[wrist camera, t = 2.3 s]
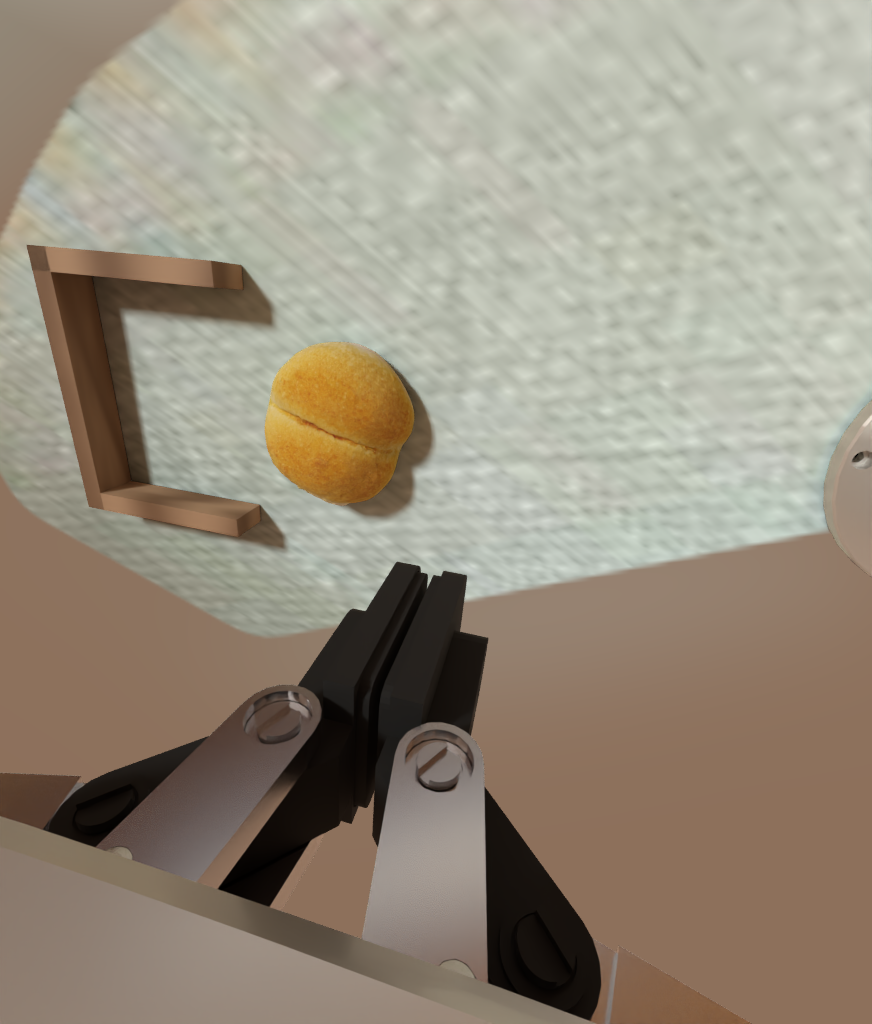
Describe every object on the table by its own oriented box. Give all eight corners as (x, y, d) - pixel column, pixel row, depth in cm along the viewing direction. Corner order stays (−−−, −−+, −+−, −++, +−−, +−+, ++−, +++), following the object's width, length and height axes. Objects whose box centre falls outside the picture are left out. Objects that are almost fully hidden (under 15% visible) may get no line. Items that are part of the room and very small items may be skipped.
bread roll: (436, 377, 26) (417, 388, 22) (381, 510, 30) (357, 537, 26) (302, 311, 26) (262, 311, 22) (265, 451, 30) (226, 470, 26)
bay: (241, 265, 25) (211, 260, 23) (260, 521, 32) (238, 536, 30) (69, 250, 27) (26, 244, 25) (120, 493, 34) (89, 506, 32)
